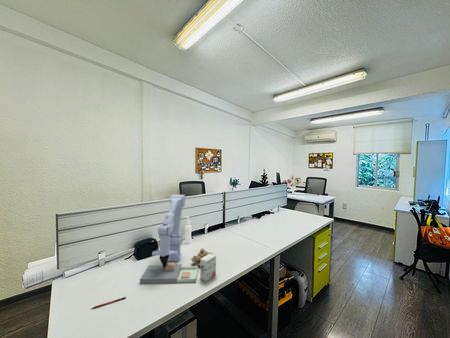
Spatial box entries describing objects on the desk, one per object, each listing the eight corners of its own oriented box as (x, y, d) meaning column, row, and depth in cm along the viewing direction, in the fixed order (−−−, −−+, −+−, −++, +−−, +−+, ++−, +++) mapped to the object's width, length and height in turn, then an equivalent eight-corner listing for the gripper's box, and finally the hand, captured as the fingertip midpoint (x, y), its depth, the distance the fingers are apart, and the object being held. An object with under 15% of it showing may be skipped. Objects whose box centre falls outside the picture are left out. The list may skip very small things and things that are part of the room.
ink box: (210, 271, 108) (210, 252, 108) (216, 274, 105) (216, 255, 105) (199, 278, 102) (199, 258, 101) (205, 282, 99) (205, 261, 98)
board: (148, 269, 109) (148, 265, 109) (181, 268, 111) (181, 264, 110) (139, 283, 97) (139, 279, 96) (176, 282, 98) (176, 278, 98)
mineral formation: (202, 255, 126) (219, 260, 118) (189, 268, 115) (208, 274, 107) (200, 245, 125) (218, 249, 117) (187, 256, 114) (206, 262, 106)
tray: (181, 269, 110) (181, 266, 110) (198, 269, 110) (198, 266, 110) (176, 282, 98) (176, 279, 98) (195, 282, 98) (195, 278, 98)
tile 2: (182, 275, 103) (182, 272, 103) (190, 275, 104) (190, 271, 103) (180, 280, 99) (181, 277, 99) (189, 280, 99) (189, 276, 99)
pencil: (90, 309, 80) (90, 307, 80) (125, 298, 87) (125, 296, 87) (90, 310, 79) (90, 308, 79) (125, 299, 86) (125, 297, 86)
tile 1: (167, 265, 109) (167, 262, 109) (174, 265, 109) (174, 262, 109) (165, 270, 105) (165, 266, 105) (173, 270, 105) (173, 266, 105)
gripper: (150, 248, 102) (150, 270, 103) (175, 247, 103) (175, 270, 103) (154, 242, 109) (154, 263, 110) (178, 242, 110) (177, 263, 110)
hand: (164, 266), depth 107 cm, fingers closed
